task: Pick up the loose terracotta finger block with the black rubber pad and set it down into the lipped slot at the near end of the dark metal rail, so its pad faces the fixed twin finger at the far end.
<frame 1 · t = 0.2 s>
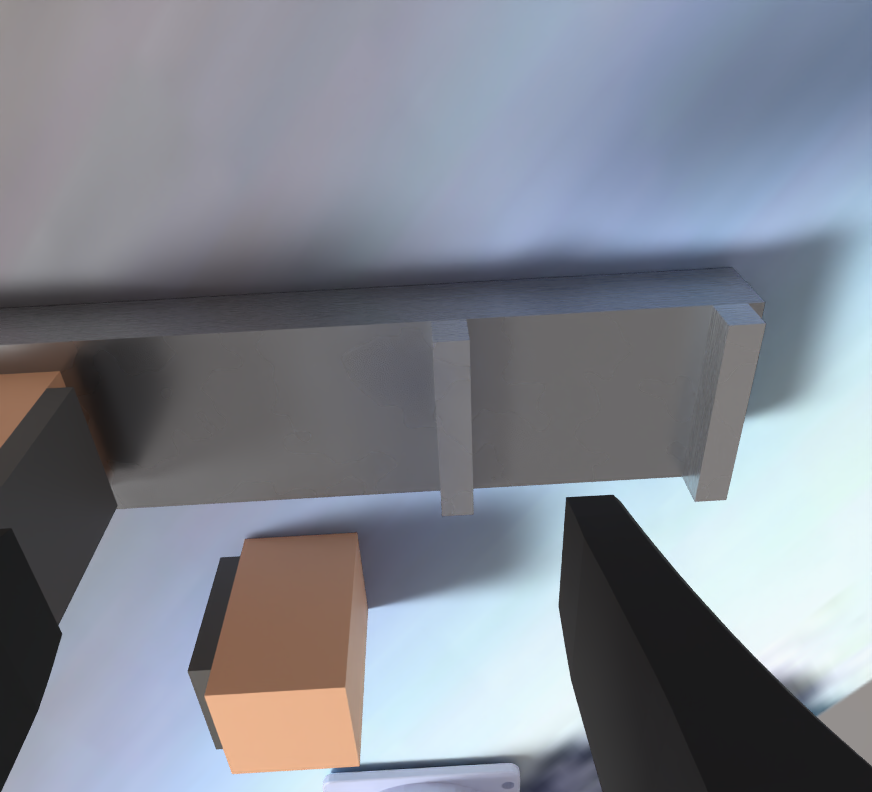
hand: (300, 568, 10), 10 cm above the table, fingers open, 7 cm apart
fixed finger: (11, 436, 18), resting on rail
rail: (306, 377, 20), on the table
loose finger: (309, 575, 24), on the table
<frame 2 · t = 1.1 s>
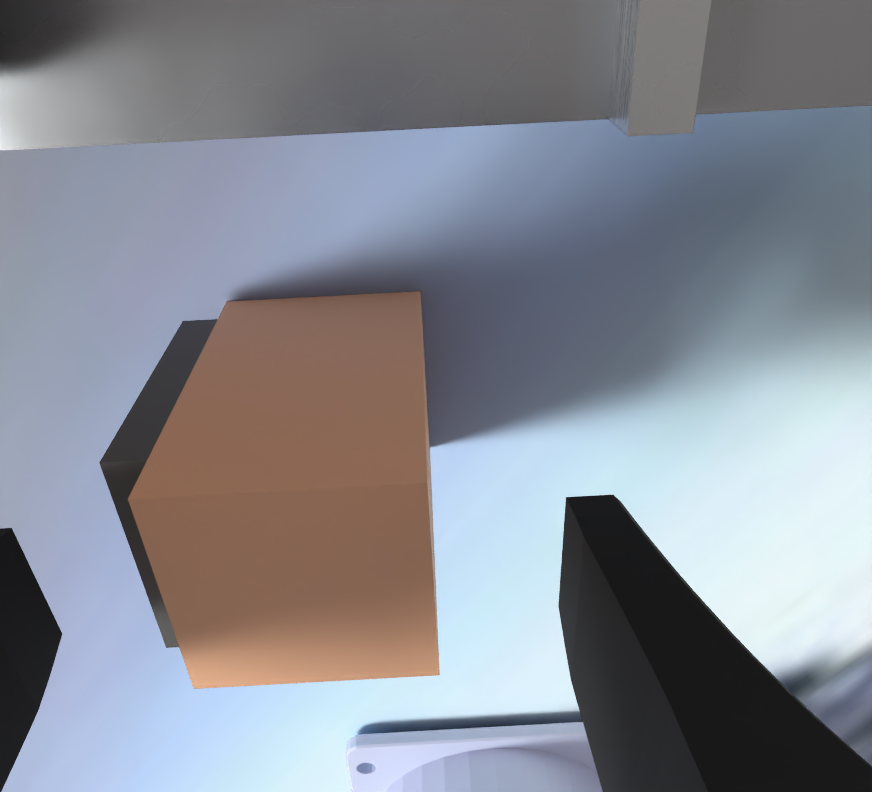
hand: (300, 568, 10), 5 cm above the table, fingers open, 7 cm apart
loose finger: (335, 378, 14), on the table
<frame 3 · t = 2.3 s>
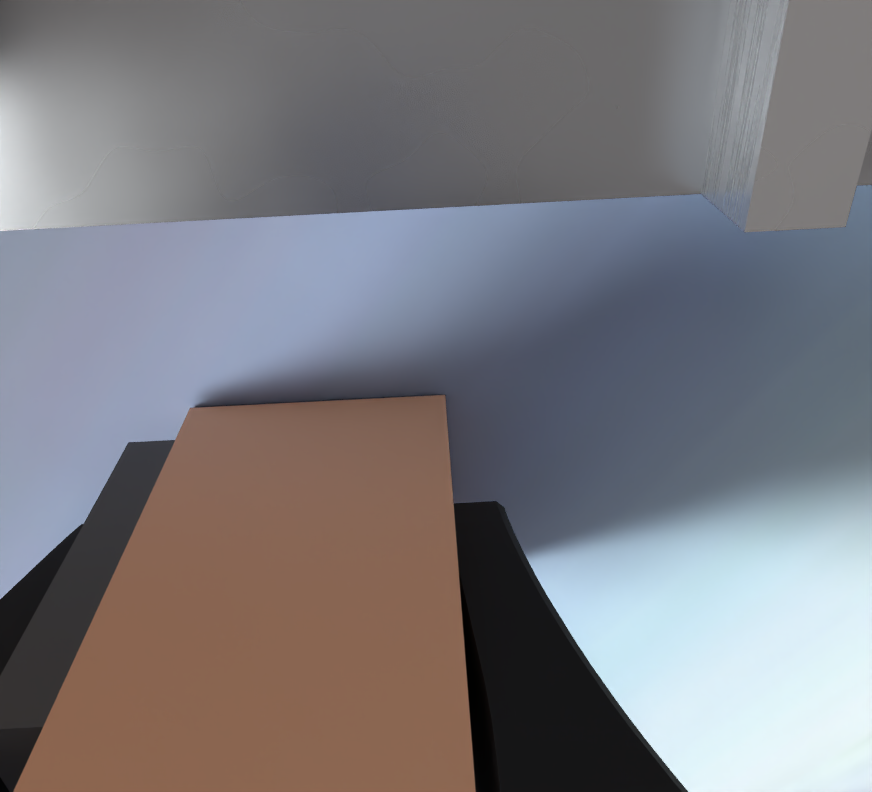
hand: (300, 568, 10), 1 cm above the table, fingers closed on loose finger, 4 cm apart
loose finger: (332, 499, 11), on the table, touching gripper
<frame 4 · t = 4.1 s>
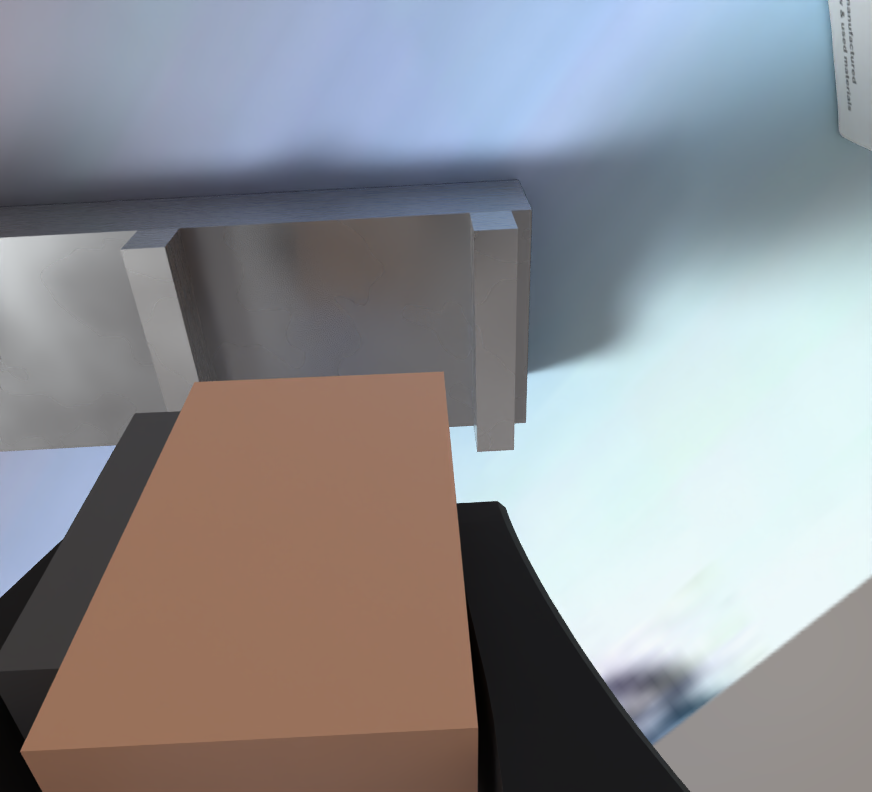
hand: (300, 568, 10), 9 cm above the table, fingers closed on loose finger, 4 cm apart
rail: (46, 311, 17), on the table
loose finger: (332, 475, 11), point 7 cm above the table, touching gripper
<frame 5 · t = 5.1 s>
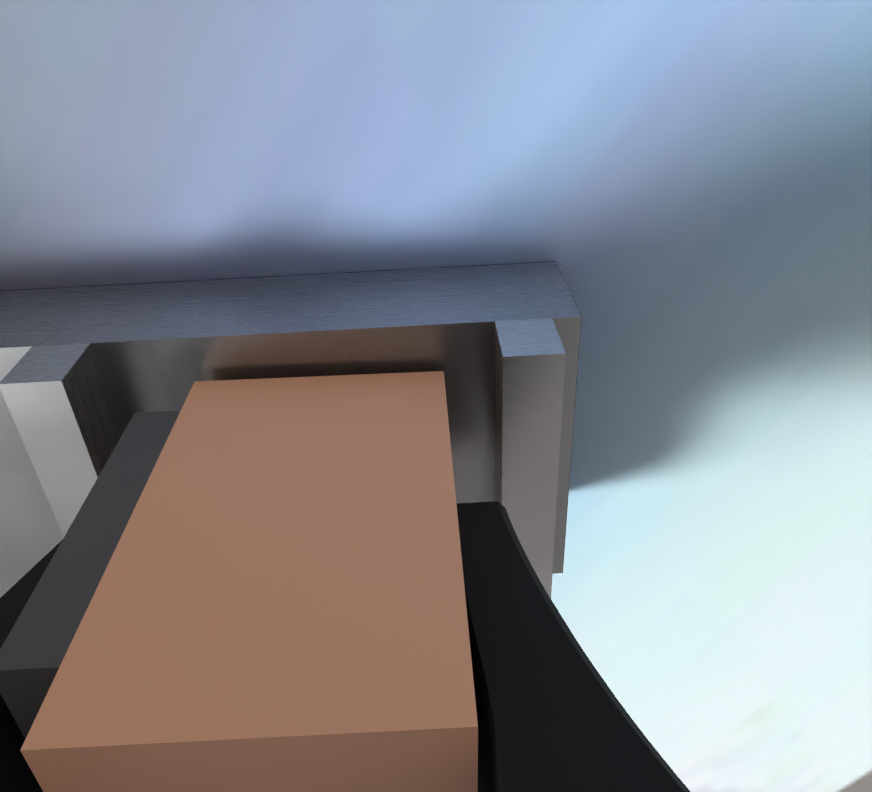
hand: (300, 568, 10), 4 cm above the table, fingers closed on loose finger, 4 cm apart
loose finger: (332, 474, 11), point 2 cm above the table, touching gripper
when the fingers open (4 cm above the table, at t = 5.7 s): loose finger stays where it is, resting on rail.
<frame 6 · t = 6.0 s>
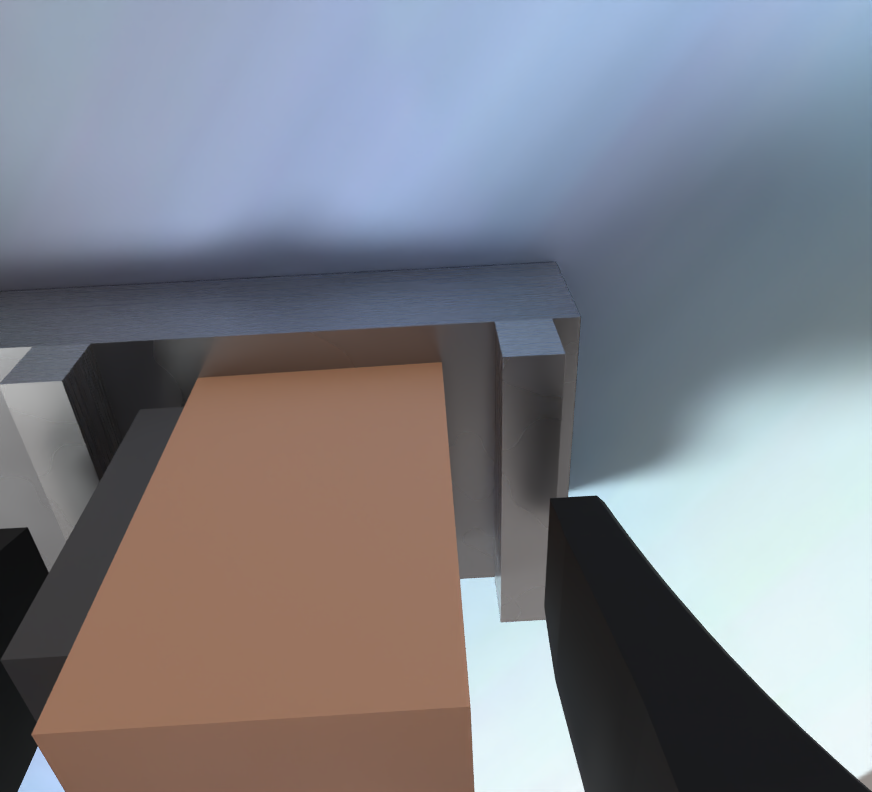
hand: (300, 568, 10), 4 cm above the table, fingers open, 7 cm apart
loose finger: (335, 466, 11), point 2 cm above the table, touching rail
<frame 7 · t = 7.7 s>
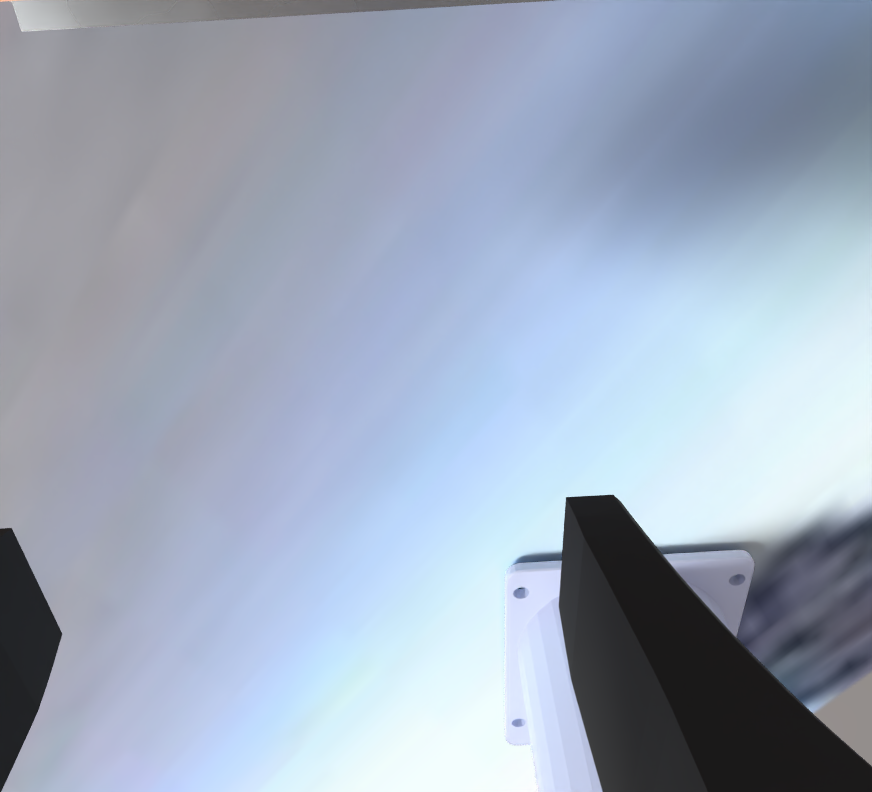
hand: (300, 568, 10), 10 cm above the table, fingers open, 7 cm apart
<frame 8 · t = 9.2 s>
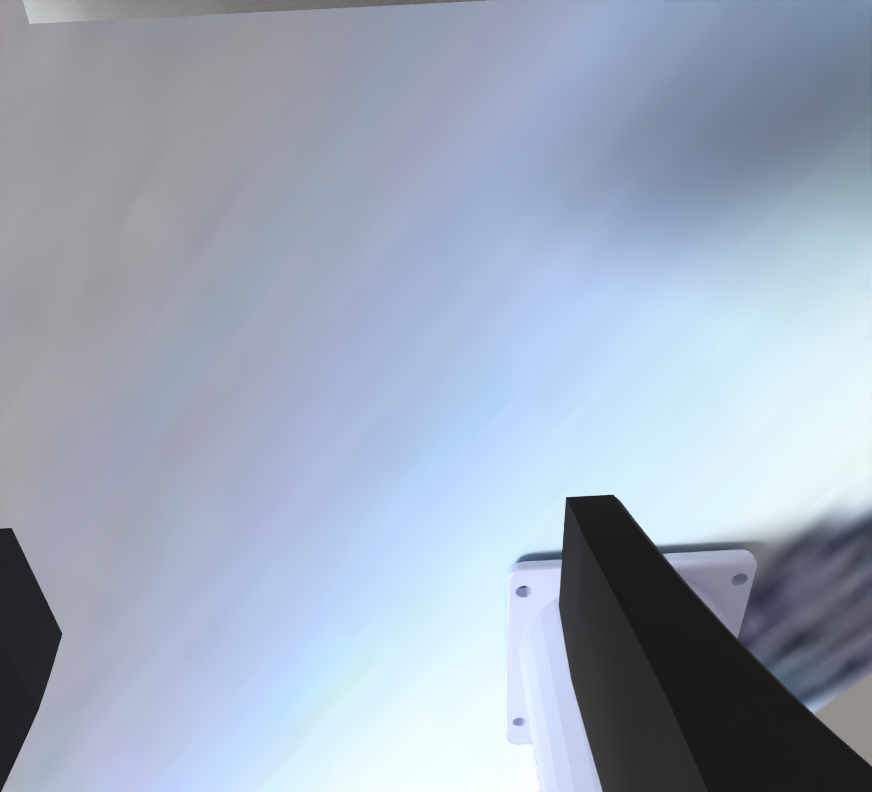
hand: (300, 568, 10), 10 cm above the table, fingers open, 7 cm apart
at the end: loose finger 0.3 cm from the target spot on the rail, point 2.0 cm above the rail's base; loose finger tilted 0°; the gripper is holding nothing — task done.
